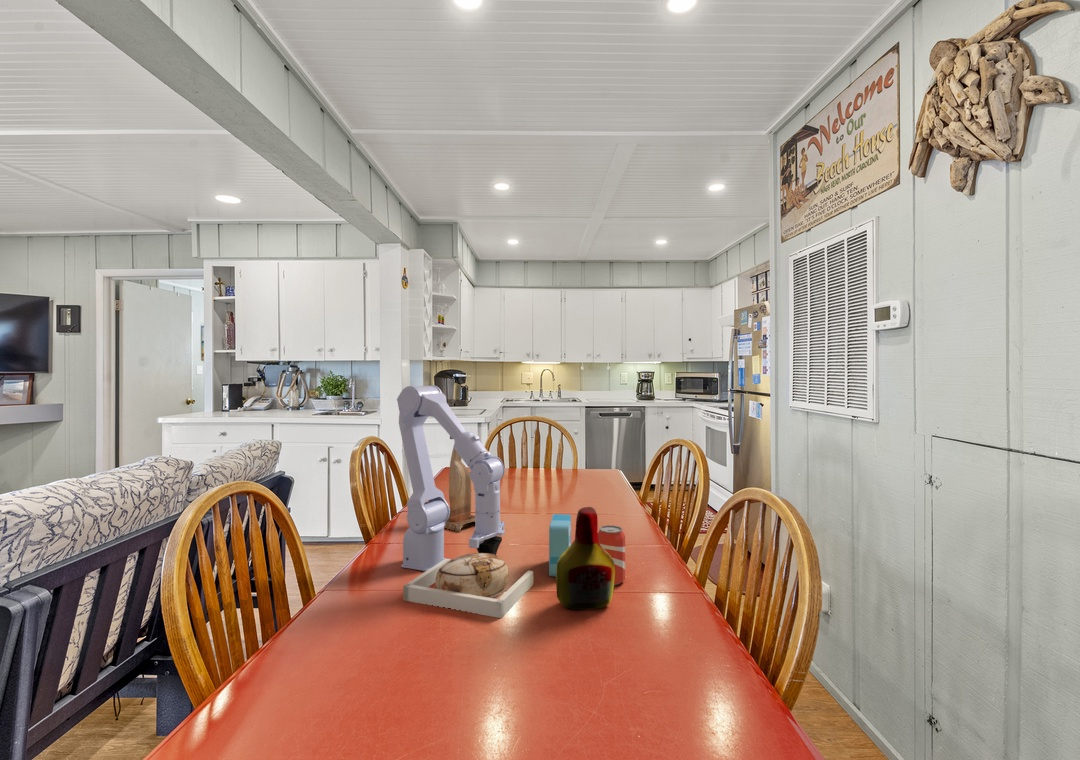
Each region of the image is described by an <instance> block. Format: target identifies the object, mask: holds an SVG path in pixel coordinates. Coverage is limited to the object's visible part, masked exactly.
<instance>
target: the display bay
mask: <svg viewBox="0 0 1080 760" xmlns="http://www.w3.org/2000/svg"><path fill="white" fill-rule="evenodd" d="M450 559H451V558H446V559H444V560H443V561H441V562H440V563H438V564H436V565H435V566H433V567H432V568H430V569H429V570H427V571H423V573H421V574H420V575H418V576H416V577H415V578H413V579H412V580H410V581H409V582H407V583H406V584H404V585H403V589H402V590H403V592H402V593H403V597H402V598H403V601H405V602H410V603H415V604H421V605H426V604H427V606H432V605H433V606H432V607H437V606H439V607H438V608H443V607H445V608H444V609H448V608H451V609H450V610H454V609H456V610H455V611H459V610H461V611H460V612H465V611H468V612H467V613H470V612H472V613H471V614H476V613H477V615H483V616H487V617H492V618H499V619H502V618H504V616H506V614H507V613H508V612H509V611H510V609H512V608H513V607H514V606H515V605H516V603H518V601H519V600H520V599H521V598H522V597H523V596H524V595H525V594H526V593H527V592H528V591H529V590H530V589H531V588H532V587H533V585H534V571H533V570H527V571H526V572H525V573H524V574H523V575H522V576H521V577H520V578H519V579H517V581H515V583H513V585H512V586H510V587H509V588H508V590H506V591H504V592H503V593H502V595H501V596H500V597H499V598H495V597H493V598H488V597H482V596H476V595H470V594H464V593H458V592H452V591H446V590H441V589H436V588H435V587H431V586H432V585H433V584H436V575H437V572H438V570H439V569H440V568H441V567H442V566H443V565H445V564H446V563H447V562H449V561H450Z"/></svg>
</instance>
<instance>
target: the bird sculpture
mask: <svg viewBox="0 0 1080 760" xmlns="http://www.w3.org/2000/svg"><path fill="white" fill-rule="evenodd" d="M449 440H454V439H453V438H452V437H451V436H450V435H449ZM449 461H450V462H449V472H448V502H449V508H450V516H449V518H448V520H447V521H446V522H445V526H444V529H445V528H447V529H446V530H448V529H450V531H451V530H452V531H454V530H455V531H459V532H458V533H461V529H462V528H463V527H464V526H465V525H466V524H470V523H472V522H475V515H473V514H472V480H471V478H470V474H469V472H470V471H469V470H468V469H469V468H467V467H466V466H467V465H466V464H465V463H463V460H462V458H461V457H460V455H459V454H458V453H457V451H456V450H455V449H454V446H453V448H452V452H451V457H450V460H449ZM455 531H454V532H455Z"/></svg>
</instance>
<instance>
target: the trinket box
mask: <svg viewBox="0 0 1080 760" xmlns="http://www.w3.org/2000/svg"><path fill="white" fill-rule="evenodd" d="M509 571H510V570H509V567H508V565H507V563H506V562H505V560H504V559H503V558H502V557H501V556H499V555H497V554H496V555H493V554H489V553H478V552H475V553H468V554H463V555H460V556H457V557H454V558H452V559H451V560H450V561H449V562H447V563H446V564H445V565H443V566H442V567H441V568H440V569H439V570H438V572H437V575H436V582H435V587H436V588H435V589H441V590H446V591H452V592H458V593H464V594H470V595H476V596H482V597H488V598H495V597H498V596H499V595H501V594H504V593H505V589H506V586H507V584H508V582H509V579H510V578H509V577H510V572H509Z"/></svg>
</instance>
